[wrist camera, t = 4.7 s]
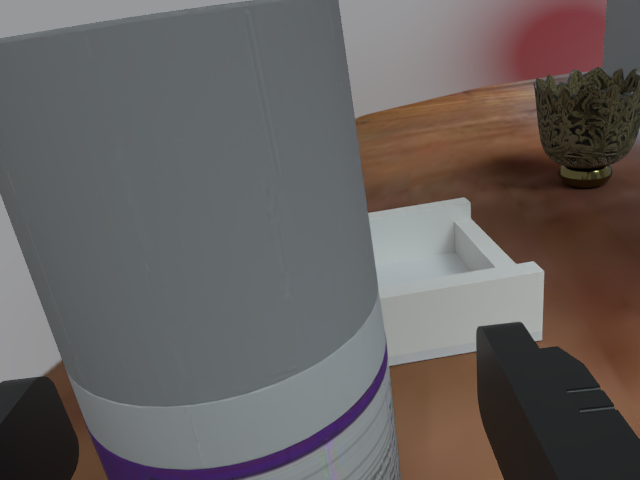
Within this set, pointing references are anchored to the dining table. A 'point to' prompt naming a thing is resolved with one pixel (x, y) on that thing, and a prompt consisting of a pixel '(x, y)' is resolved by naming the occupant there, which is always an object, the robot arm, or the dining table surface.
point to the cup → (588, 123)
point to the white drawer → (447, 281)
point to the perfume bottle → (622, 37)
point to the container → (203, 240)
